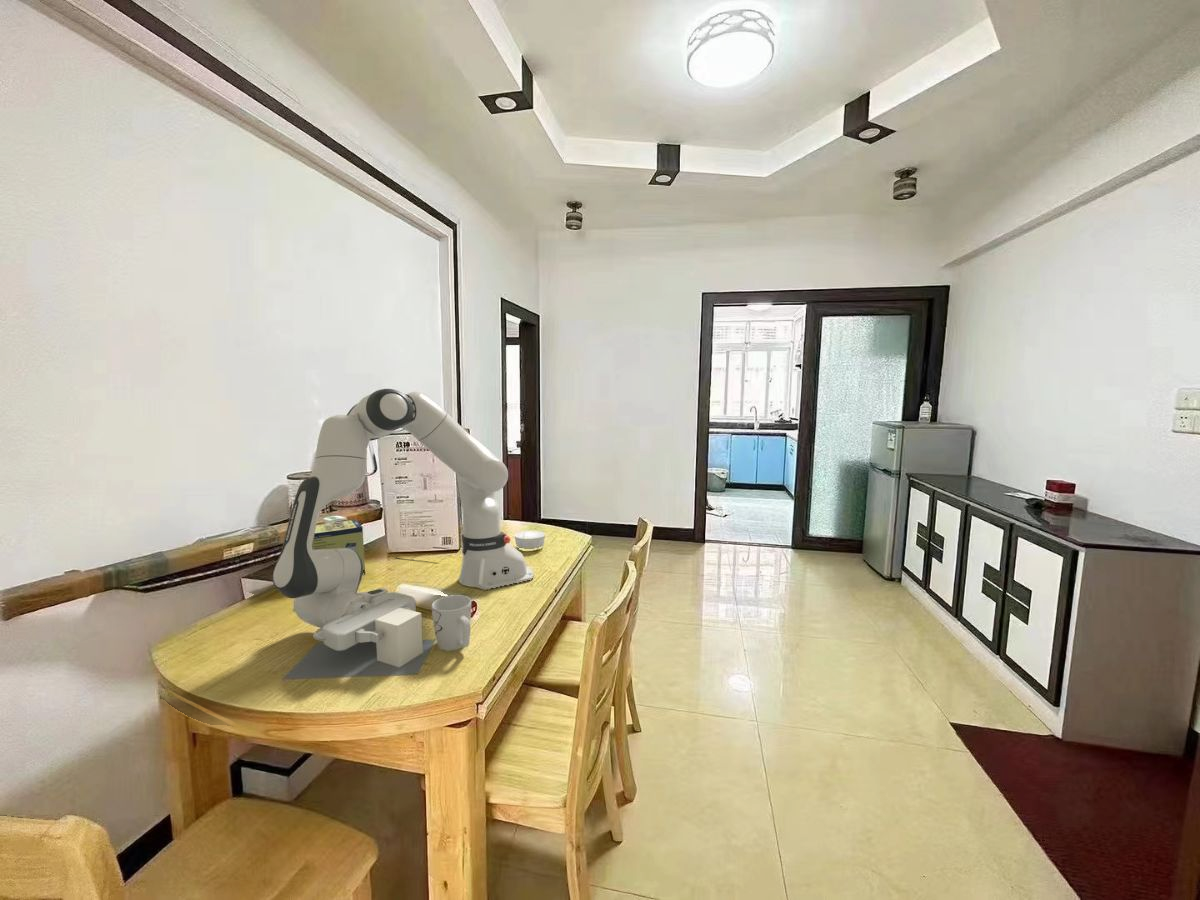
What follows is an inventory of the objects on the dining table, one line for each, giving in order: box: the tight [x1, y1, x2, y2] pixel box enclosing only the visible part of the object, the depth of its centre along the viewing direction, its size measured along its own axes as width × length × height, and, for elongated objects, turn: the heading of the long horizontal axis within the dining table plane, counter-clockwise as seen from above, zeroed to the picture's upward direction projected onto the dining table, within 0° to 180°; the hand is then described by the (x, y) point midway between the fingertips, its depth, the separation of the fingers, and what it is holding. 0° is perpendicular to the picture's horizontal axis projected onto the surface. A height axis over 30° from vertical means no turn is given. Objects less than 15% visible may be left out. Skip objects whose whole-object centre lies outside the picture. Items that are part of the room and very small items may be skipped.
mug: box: [431, 594, 472, 652], centre depth 107 cm, size 11×8×10 cm
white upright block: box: [375, 607, 423, 667], centre depth 102 cm, size 6×6×9 cm
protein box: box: [312, 519, 366, 574], centre depth 150 cm, size 10×16×16 cm
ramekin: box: [514, 530, 546, 549], centre depth 177 cm, size 11×11×5 cm
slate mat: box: [281, 638, 437, 681], centre depth 102 cm, size 26×14×1 cm, turn 94°
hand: (398, 627), depth 102 cm, fingers open, 8 cm apart
